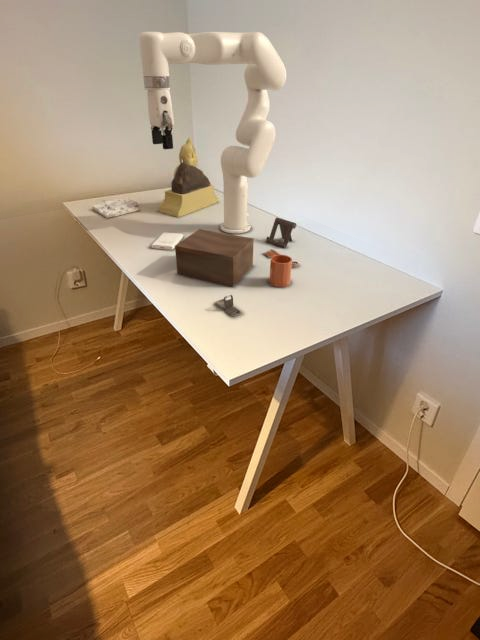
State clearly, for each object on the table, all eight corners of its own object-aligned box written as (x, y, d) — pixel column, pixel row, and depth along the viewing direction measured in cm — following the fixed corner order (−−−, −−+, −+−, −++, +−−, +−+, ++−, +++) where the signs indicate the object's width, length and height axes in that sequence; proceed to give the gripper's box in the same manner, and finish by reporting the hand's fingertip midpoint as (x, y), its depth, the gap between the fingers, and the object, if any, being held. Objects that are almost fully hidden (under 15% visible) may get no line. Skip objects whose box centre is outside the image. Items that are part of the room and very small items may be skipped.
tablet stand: (265, 242, 148) (266, 221, 143) (278, 236, 153) (279, 216, 148) (283, 248, 143) (285, 226, 138) (296, 242, 148) (298, 221, 143)
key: (262, 254, 139) (286, 270, 128) (262, 251, 139) (286, 267, 128) (276, 249, 141) (300, 265, 131) (276, 247, 141) (300, 263, 130)
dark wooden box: (200, 255, 137) (199, 228, 131) (252, 266, 130) (253, 238, 125) (177, 274, 125) (174, 245, 119) (233, 287, 118) (233, 257, 113)
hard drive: (183, 237, 151) (172, 250, 141) (163, 236, 152) (151, 248, 142) (183, 233, 150) (172, 246, 140) (163, 232, 151) (151, 244, 141)
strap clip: (215, 304, 110) (214, 291, 107) (224, 300, 111) (223, 288, 109) (232, 317, 104) (232, 304, 102) (241, 313, 106) (241, 300, 103)
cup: (273, 276, 125) (274, 253, 120) (292, 279, 123) (294, 256, 118) (266, 284, 120) (267, 261, 115) (286, 289, 118) (288, 265, 113)
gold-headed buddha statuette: (198, 197, 196) (195, 132, 179) (218, 202, 190) (216, 135, 173) (158, 211, 177) (150, 140, 160) (178, 217, 171) (172, 143, 154)
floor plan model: (120, 197, 194) (119, 193, 193) (145, 209, 178) (144, 205, 177) (84, 204, 184) (83, 200, 183) (107, 218, 168) (106, 213, 167)
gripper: (179, 85, 109) (184, 150, 118) (159, 82, 121) (164, 141, 131) (154, 85, 106) (160, 152, 115) (136, 82, 118) (143, 143, 128)
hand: (162, 146), depth 123 cm, fingers open, 9 cm apart
